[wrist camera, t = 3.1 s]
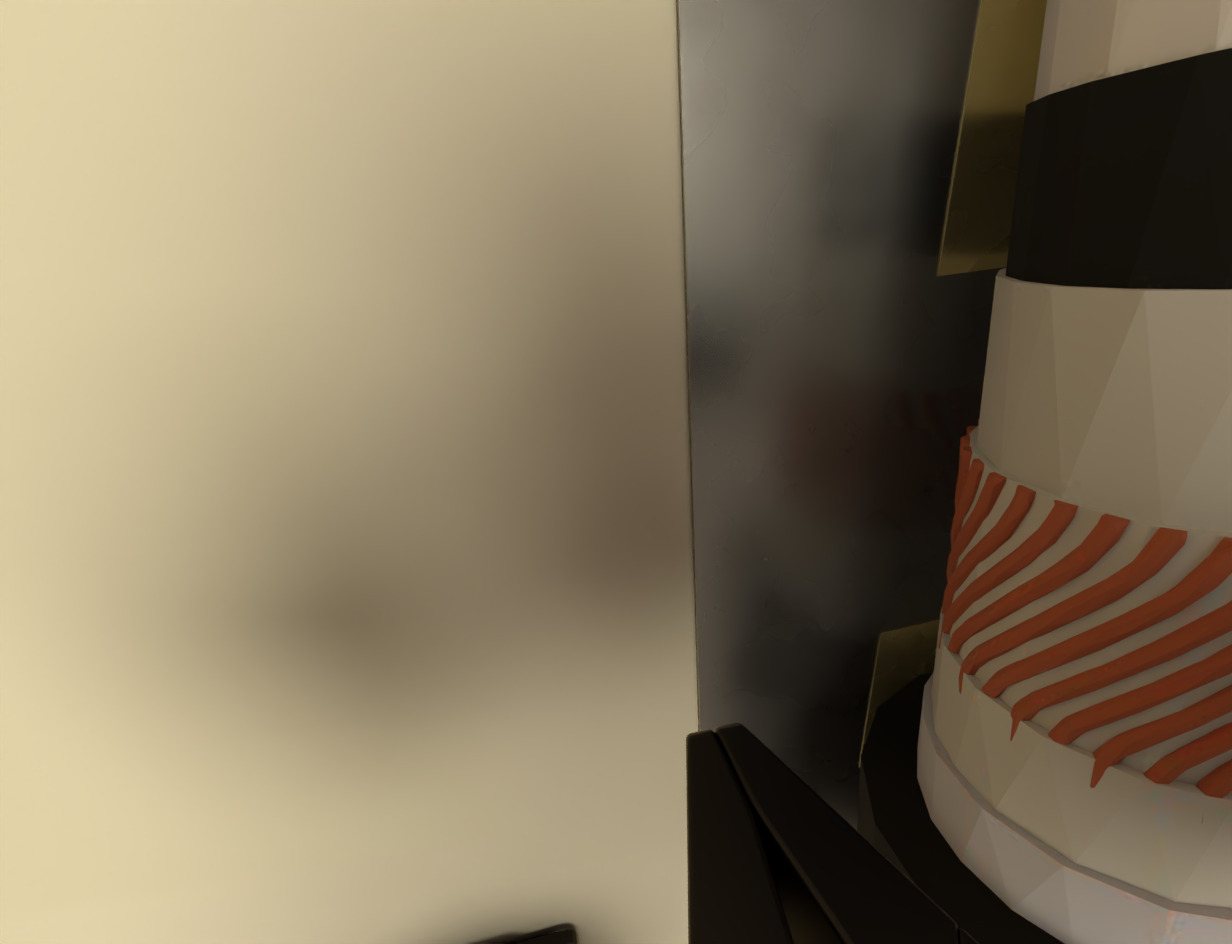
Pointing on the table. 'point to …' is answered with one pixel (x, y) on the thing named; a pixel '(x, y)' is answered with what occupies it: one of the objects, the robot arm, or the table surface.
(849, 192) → the plate
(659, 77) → the table surface
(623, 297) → the table surface
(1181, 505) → the banded tapered cylinder
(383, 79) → the table surface
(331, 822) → the table surface
